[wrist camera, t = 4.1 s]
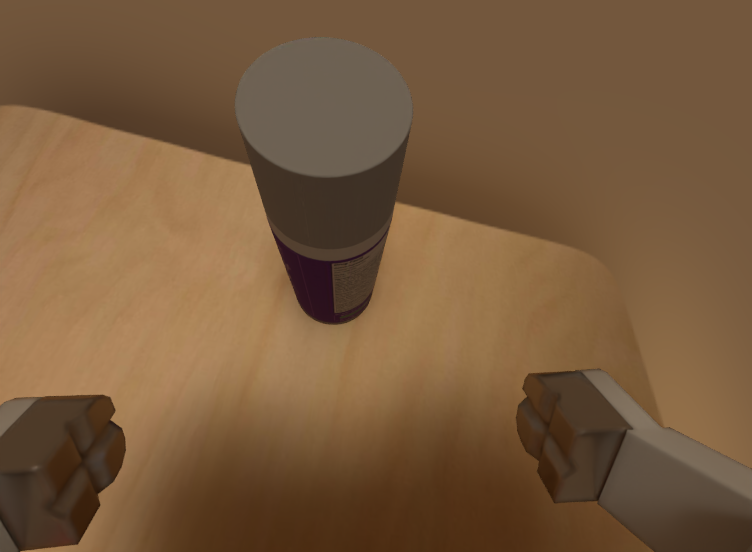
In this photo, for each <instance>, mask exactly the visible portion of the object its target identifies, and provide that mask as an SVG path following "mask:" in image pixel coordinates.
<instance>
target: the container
mask: <svg viewBox="0 0 752 552" xmlns="http://www.w3.org/2000/svg"><path fill="white" fill-rule="evenodd" d="M235 114H236V119H237V122H238V125H239V128H240V132H241V135H242V138H243V141H244V144H245V148H246V151H247V154H248V157H249V161H250V164H251V167H252V170H253V173H254V177H255V180H256V183H257V186H258V189H259V193H260V196H261V199H262V202H263V205H264V209H265V212H266V215H267V219H268V222H269V225H270V227H271V230H272V233H273V235H274V238H275V241H276V244H277V246H278V249H279V252H280V254H281V257H282V260H283V262H284V265H285V268H286V270H287V273H288V276H289V278H290V281H291V284H292V286H293V289H294V292H295V294H296V297H297V300H298V302H299V304H300V306H301V307H302V309H303V310H304V311H305V313H306V314H307V315H309V316H310V317H311V318H313V319H314V320H316V321H319V322H321V323H325V324H342V323H346V322H349V321H351V320H353V319H355V318H356V317H358V316H359V315H360V314H361V313H362V312H363V311H364V310H365V308H366V307H367V305H368V303H369V301H370V298H371V295H372V291H373V288H374V284H375V280H376V276H377V272H378V269H379V265H380V261H381V257H382V254H383V250H384V246H385V242H386V239H387V235H388V231H389V227H390V224H391V220H392V215H393V210H394V205H395V200H396V195H397V191H398V186H399V181H400V176H401V172H402V167H403V162H404V157H405V152H406V147H407V143H408V138H409V133H410V128H411V124H412V118H413V103H412V97H411V94H410V91H409V88H408V86H407V84H406V82H405V81H404V79H403V77H402V76H401V74H400V73H399V71H398V70H397V69H396V68H395V67H394V66H393V65H392V64H391V63H390V62H389V61H388V60H387V59H385V58H384V57H383V56H381V55H380V54H378V53H376V52H375V51H373V50H371V49H369V48H367V47H365V46H362V45H360V44H357V43H354V42H351V41H347V40H343V39H336V38H327V37H314V38H305V39H299V40H294V41H291V42H287V43H284V44H282V45H279V46H277V47H275V48H273V49H271V50H269V51H267V52H266V53H264V54H263V55H262V56H260V57H259V58H258V59H257V60H256V61H255V62H254V63H252V65H250V67H249V68H248V69H247V70H246V72H245V73H244V75H243V77H242V78H241V80H240V83H239V85H238V88H237V92H236V97H235Z"/></svg>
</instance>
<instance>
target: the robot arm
mask: <svg viewBox="0 0 752 552" xmlns="http://www.w3.org/2000/svg"><path fill="white" fill-rule="evenodd" d="M522 389H523V391H524V392H525V394H526V395H527V397H526V398H525V399H524V400H523V401H522V402H521V403H520V404H519V405H518V410H517V415H516V423H517V431H518V434H519V437H520V441H521V443H522V445H523V447H524V449H525V450H526V452H527V453H528V454H530V455H531V456H533V457H534V458H535V459H537V460H538V461H539V463H538V468H537V473H538V475H539V476H540V478H541V480H542V482H543V484H544V485H545V487H546V489H547V491H548V493H549V495H550V496H551V498H552V500H553V502H554V503H567V502H585V501H598V504H599V505H600V506H601V507H602V508H604V509H605V510H606V511H607V512H608V513H609V514H611V515H612V516H613V517H614V518H615V519H617V520H618V521H619V522H620V523H621V524H622V525H624V526H625V527H626V528H627V529H628V530H630V531H631V532H632V533H633V534H634V535H635V536H637V537H638V538H639V539H640V540H641V541H643V542H644V543H645V544H646V545H647V546H648V547H650V548H651V549H652V550H653V551H654V552H752V469H751V468H749V467H747V466H745V465H743V464H741V463H739V462H737V461H735V460H733V459H731V458H729V457H727V456H725V455H723V454H721V453H719V452H717V451H715V450H713V449H711V448H709V447H707V446H705V445H703V444H701V443H700V442H697V441H696V440H693V439H692V438H689V437H688V436H685V435H684V434H682V433H680V432H678V431H676V430H674V429H672V428H670V427H669V428H662V427H661V426H660V425H659V424H658V423H657V422H656V421H655V420H654V419H653V418H652V417H651V416H650V415H649V414H648V413H647V412H646V411H645V410H644V409H643V408H642V407H641V406H640V405H639V404H638V403H637V402H636V401H635V400H634V399H633V398H632V397H631V396H630V395H629V394H628V393H627V392H626V391H625V390H624V389H623V388H622V387H621V386H620V385H619V384H618V383H617V382H616V381H615V380H614V379H613V378H612V377H611V376H610V375H609V374H608V373H607V372H605V371H603V370H601V369H586V370H575V371H562V372H544V373H529V374H528V375H527V377H526V378H525V380H524V384H523V388H522ZM115 411H116V410H115V408H114V405H113V403H112V400H111V398H110V397H108V396H105V395H76V396H46V397H24V398H14V399H12V400H9V401H6V402H4V403H3V404H2V405H1V406H0V552H20V551H25V550H34V549H42V548H51V547H60V546H68V545H77V544H79V542H80V540H81V538H82V537H83V535H84V533H85V531H86V530H87V528H88V526H89V524H90V523H91V521H92V519H93V517H94V516H95V514H96V512H97V510H98V509H99V507H100V501H99V497H98V494H99V493H100V492H101V491H102V490H104V489H105V488H106V487H108V486H109V485H110V484H111V483H113V482H114V480H115V478H116V477H117V475H118V473H119V471H120V469H121V467H122V464H123V460H124V456H125V452H126V444H125V436H124V433H123V430H122V428H121V427H119V426H118V425H116V424H115V423H114V422H112V421H111V420H110V419H111V418H112V416H113V415H114V413H115Z"/></svg>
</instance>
